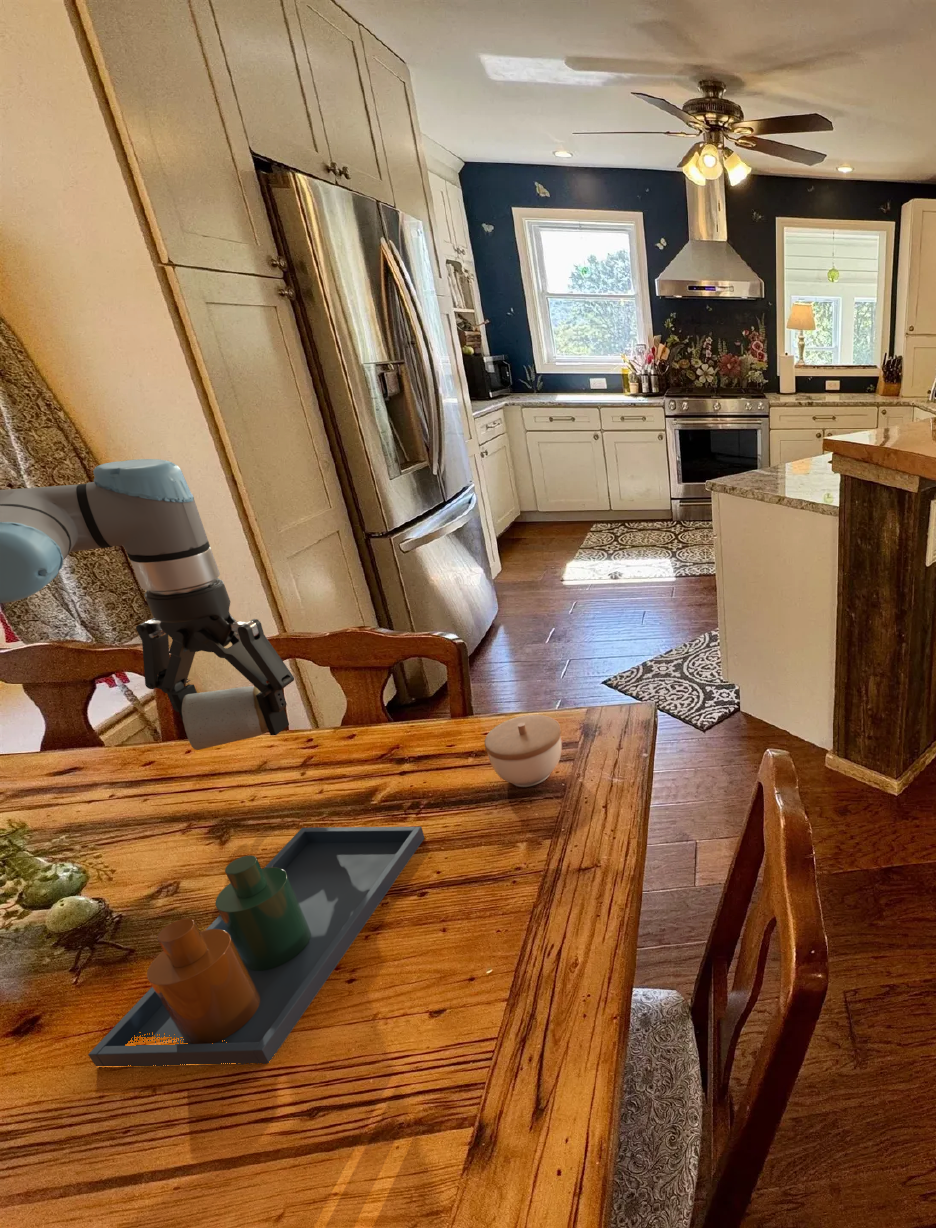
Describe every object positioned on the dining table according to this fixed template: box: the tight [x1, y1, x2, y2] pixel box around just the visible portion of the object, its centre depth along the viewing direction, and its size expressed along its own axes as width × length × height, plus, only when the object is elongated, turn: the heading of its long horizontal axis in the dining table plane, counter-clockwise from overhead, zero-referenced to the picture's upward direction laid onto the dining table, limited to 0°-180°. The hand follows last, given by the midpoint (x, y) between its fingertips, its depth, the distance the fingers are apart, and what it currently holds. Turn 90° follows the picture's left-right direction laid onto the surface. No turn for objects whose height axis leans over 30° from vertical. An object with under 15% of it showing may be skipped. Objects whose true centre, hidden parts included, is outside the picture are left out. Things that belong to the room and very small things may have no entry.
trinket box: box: [484, 714, 563, 788], centre depth 101 cm, size 11×11×9 cm
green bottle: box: [214, 854, 311, 971], centre depth 71 cm, size 6×6×12 cm
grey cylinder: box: [182, 685, 269, 751], centre depth 91 cm, size 11×8×8 cm
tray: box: [87, 826, 425, 1067], centre depth 75 cm, size 16×30×3 cm, turn 3°
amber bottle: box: [146, 918, 260, 1044], centre depth 64 cm, size 6×6×12 cm
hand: (239, 729), depth 92 cm, fingers closed on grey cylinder, 10 cm apart
